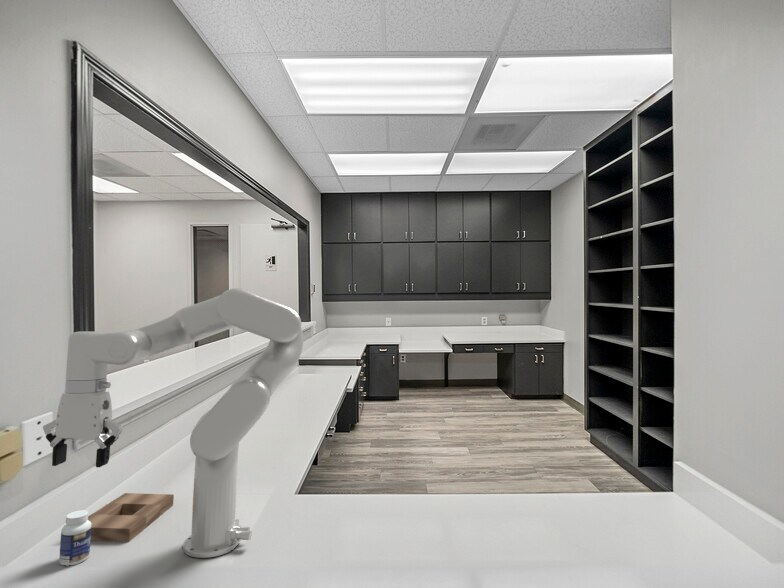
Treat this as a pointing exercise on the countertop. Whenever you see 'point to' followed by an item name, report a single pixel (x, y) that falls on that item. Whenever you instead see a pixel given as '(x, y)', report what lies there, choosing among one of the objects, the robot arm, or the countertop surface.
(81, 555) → the pill bottle
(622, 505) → the countertop surface
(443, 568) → the countertop surface
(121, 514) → the socket block
